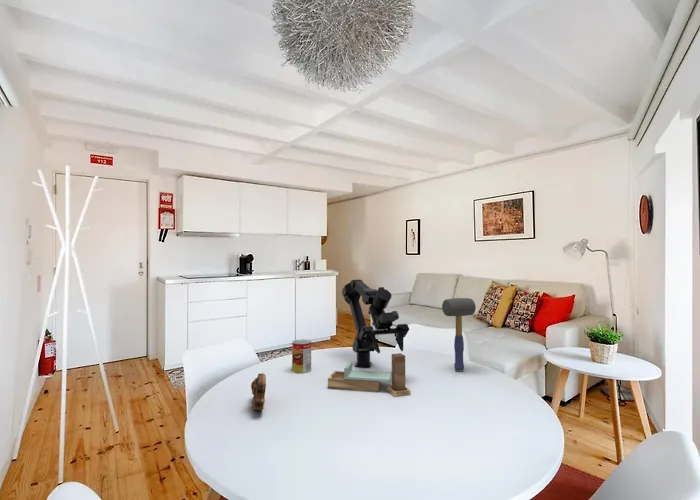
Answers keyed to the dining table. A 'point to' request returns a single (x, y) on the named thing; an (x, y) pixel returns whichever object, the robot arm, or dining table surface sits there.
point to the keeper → (398, 392)
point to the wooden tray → (351, 383)
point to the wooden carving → (259, 391)
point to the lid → (366, 374)
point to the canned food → (301, 356)
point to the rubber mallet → (458, 324)
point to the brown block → (398, 372)
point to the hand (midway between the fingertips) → (391, 351)
